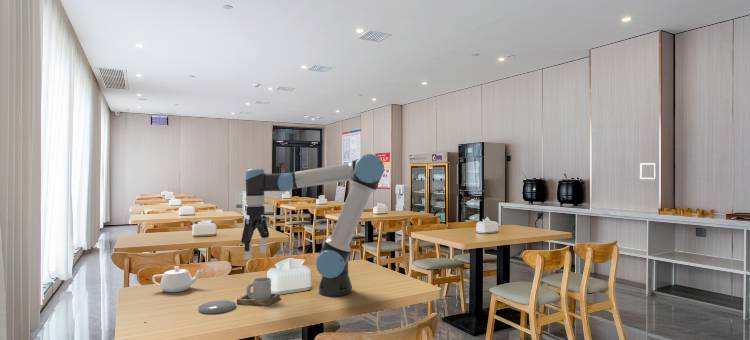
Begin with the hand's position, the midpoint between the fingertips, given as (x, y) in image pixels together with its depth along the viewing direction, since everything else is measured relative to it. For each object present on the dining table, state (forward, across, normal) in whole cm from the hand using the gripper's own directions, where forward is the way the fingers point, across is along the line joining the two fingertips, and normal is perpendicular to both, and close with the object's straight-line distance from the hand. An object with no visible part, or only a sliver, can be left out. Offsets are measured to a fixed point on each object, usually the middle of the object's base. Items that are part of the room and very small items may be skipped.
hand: (256, 255), depth 182 cm
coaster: (+19, +13, -11) cm, 25 cm away
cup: (+19, +1, +1) cm, 19 cm away
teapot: (+19, -9, -44) cm, 48 cm away
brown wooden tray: (+19, +1, +1) cm, 19 cm away
